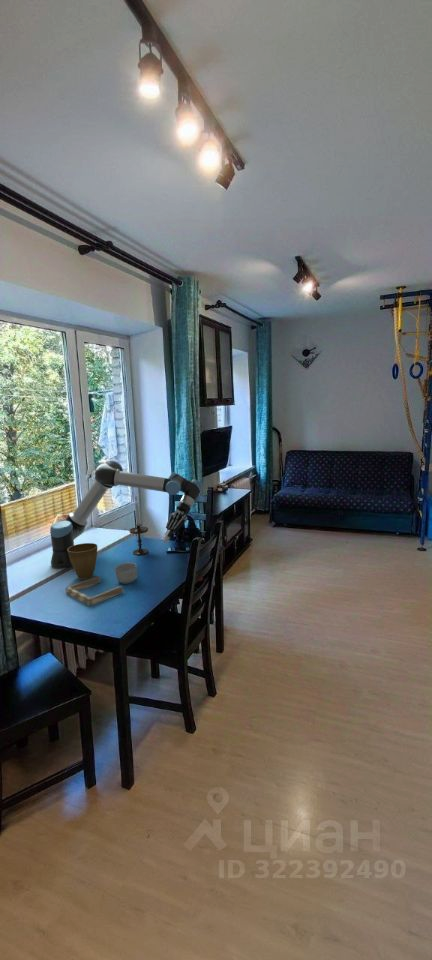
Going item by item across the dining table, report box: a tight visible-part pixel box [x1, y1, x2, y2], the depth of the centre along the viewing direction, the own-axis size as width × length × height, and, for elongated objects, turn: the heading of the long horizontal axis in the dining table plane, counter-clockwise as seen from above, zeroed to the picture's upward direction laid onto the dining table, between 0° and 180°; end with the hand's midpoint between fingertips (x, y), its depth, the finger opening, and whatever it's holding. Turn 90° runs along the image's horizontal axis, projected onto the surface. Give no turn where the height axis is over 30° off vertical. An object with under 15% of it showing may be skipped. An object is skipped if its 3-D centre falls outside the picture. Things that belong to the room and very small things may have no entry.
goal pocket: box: [65, 575, 124, 607], centre depth 213 cm, size 21×18×3 cm
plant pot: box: [67, 542, 98, 580], centre depth 233 cm, size 15×15×16 cm
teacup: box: [114, 561, 138, 585], centre depth 226 cm, size 14×11×8 cm
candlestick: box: [128, 495, 149, 556], centre depth 263 cm, size 11×11×35 cm
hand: (164, 541), depth 242 cm, fingers closed
